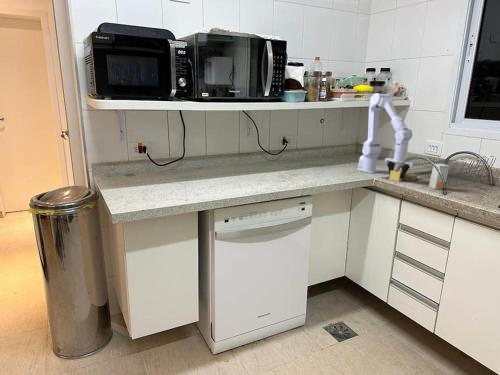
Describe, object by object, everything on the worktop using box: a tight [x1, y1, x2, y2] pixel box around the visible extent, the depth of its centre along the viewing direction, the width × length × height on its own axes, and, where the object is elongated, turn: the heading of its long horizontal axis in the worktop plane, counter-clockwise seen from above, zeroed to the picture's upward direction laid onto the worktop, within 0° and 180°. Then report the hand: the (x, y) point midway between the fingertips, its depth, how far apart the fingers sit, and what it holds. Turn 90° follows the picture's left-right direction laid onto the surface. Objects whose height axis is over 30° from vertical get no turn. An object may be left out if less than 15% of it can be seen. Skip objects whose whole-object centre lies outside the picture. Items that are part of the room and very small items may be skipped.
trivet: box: [402, 172, 419, 182], centre depth 190 cm, size 9×9×2 cm
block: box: [388, 169, 404, 182], centre depth 185 cm, size 5×5×5 cm
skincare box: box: [428, 163, 450, 190], centre depth 172 cm, size 6×4×12 cm
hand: (396, 177), depth 185 cm, fingers open, 5 cm apart
